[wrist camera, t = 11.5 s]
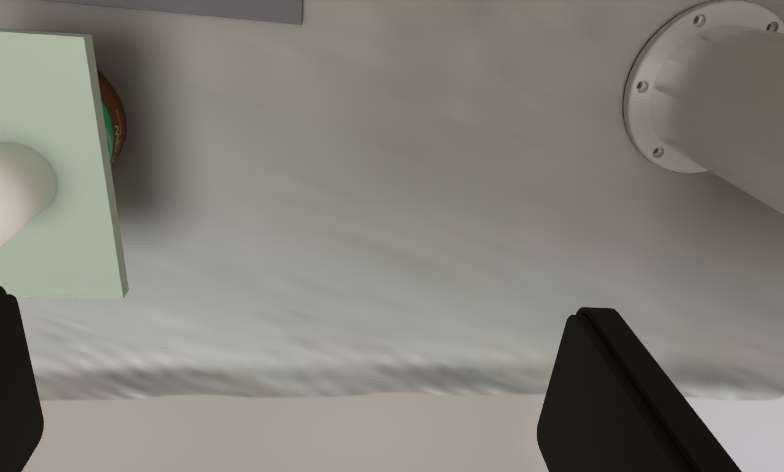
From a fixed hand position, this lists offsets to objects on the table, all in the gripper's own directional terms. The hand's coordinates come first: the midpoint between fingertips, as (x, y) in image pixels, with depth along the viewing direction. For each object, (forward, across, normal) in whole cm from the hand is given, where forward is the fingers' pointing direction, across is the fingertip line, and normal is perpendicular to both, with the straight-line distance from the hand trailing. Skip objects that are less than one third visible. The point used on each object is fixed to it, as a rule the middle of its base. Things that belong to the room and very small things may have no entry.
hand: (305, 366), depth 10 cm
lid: (+23, +16, +6) cm, 29 cm away
